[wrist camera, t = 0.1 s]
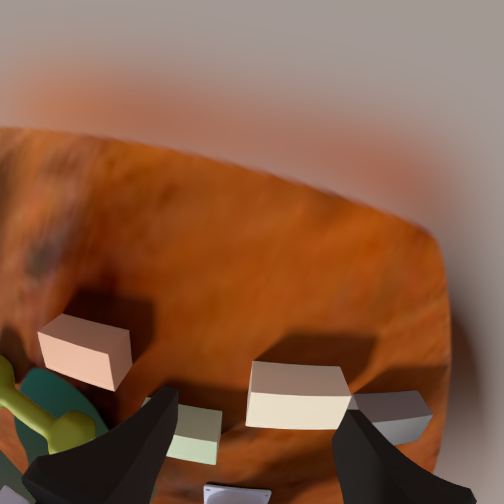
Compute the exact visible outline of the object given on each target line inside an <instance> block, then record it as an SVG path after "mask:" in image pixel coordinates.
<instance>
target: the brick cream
mask: <svg viewBox="0 0 504 504" xmlns="http://www.w3.org/2000/svg"><path fill="white" fill-rule="evenodd" d="M351 397H352V396H351V393H350V391H349V388H348V386H347V383H346V381H345V378H344V375H343V373H342V370H341V368H340V367H338V366H312V365H295V364H282V363H270V362H260V361H253V363H252V370H251V377H250V383H249V390H248V401H247V415H246V426H252V427H264V428H280V429H337V428H338V426H339V425H340V423H341V421H342V419H343V416H344V414H345V412H346V409H347V407H348V404H349V402H350V399H351Z"/></svg>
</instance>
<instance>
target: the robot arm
mask: <svg viewBox="0 0 504 504" xmlns="http://www.w3.org/2000/svg"><path fill="white" fill-rule="evenodd" d="M178 400H179V389H178V388H174V387H169V386H163V387H162V388H161V389H160V390H159V391H158V392H157V393H156V394H155V395H154V396H153V397H152V398H151V399H150V400H149V401H148V402H147V403H146V404H145V405H143V406H142V407H141V408H140V409H139V410H138V411H136V412H135V413H134V414H133V415H132V416H130V417H129V418H128V419H126V420H125V421H124V422H122V423H121V424H119V425H118V426H116V427H115V428H113V429H112V430H110V431H108V432H107V433H105V434H103V435H101V436H100V437H98V438H96V439H93V440H91V441H89V442H87V443H85V444H82V445H80V446H77V447H74V448H71V449H68V450H65V451H62V452H58V453H54V454H49V455H45V456H39V457H37V458H36V459H35V460H34V461H33V462H32V463H31V465H30V466H29V467H28V469H27V470H26V472H25V473H24V475H23V476H22V478H21V480H22V483H23V485H24V486H25V488H26V489H27V490H28V491H29V492H30V494H31V495H32V496H33V497H34V498H35V500H36V503H35V504H149V502H150V498H151V494H152V491H153V487H154V484H155V481H156V478H157V476H158V473H159V471H160V469H161V466H162V464H163V462H164V459H165V457H166V455H167V452H168V450H169V447H170V445H171V443H172V440H173V437H174V433H175V430H176V426H177V422H178ZM332 445H333V456H334V461H335V466H336V470H337V474H338V478H339V482H340V487H341V491H342V495H343V501H344V504H476V502H477V501H476V499H475V497H474V495H473V493H472V491H471V489H469V488H466V487H462V486H459V485H456V484H453V483H451V482H448V481H446V480H444V479H441V478H439V477H437V476H435V475H433V474H432V473H430V472H428V471H426V470H425V469H423V468H421V467H420V466H418V465H417V464H416V463H414V462H413V461H411V460H410V459H409V458H407V457H406V456H405V455H404V454H402V453H401V452H400V451H399V450H398V449H397V448H396V447H395V446H394V445H393V444H391V443H390V442H389V441H388V440H387V439H386V438H385V437H384V436H383V434H382V433H381V432H380V431H379V430H378V429H377V428H376V427H375V426H374V425H373V424H372V423H371V421H370V420H369V419H368V418H367V417H366V416H365V415H364V414H363V413H362V412H361V411H360V410H355V409H347V410H346V412H345V415H344V417H343V419H342V421H341V423H340V425H339V426H338V428H337V430H336V432H335V434H334V436H333V438H332ZM270 496H271V491H270V490H260V489H245V488H234V487H225V486H217V485H210V484H205V485H204V504H268V501H269V499H270ZM0 504H31V503H30V502H29V501H27V500H26V499H25V498H23V497H22V496H20V495H19V494H17V493H16V492H14V491H13V490H12V489H10V488H9V487H7V486H4V487H3V488H2V490H1V491H0Z"/></svg>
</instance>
